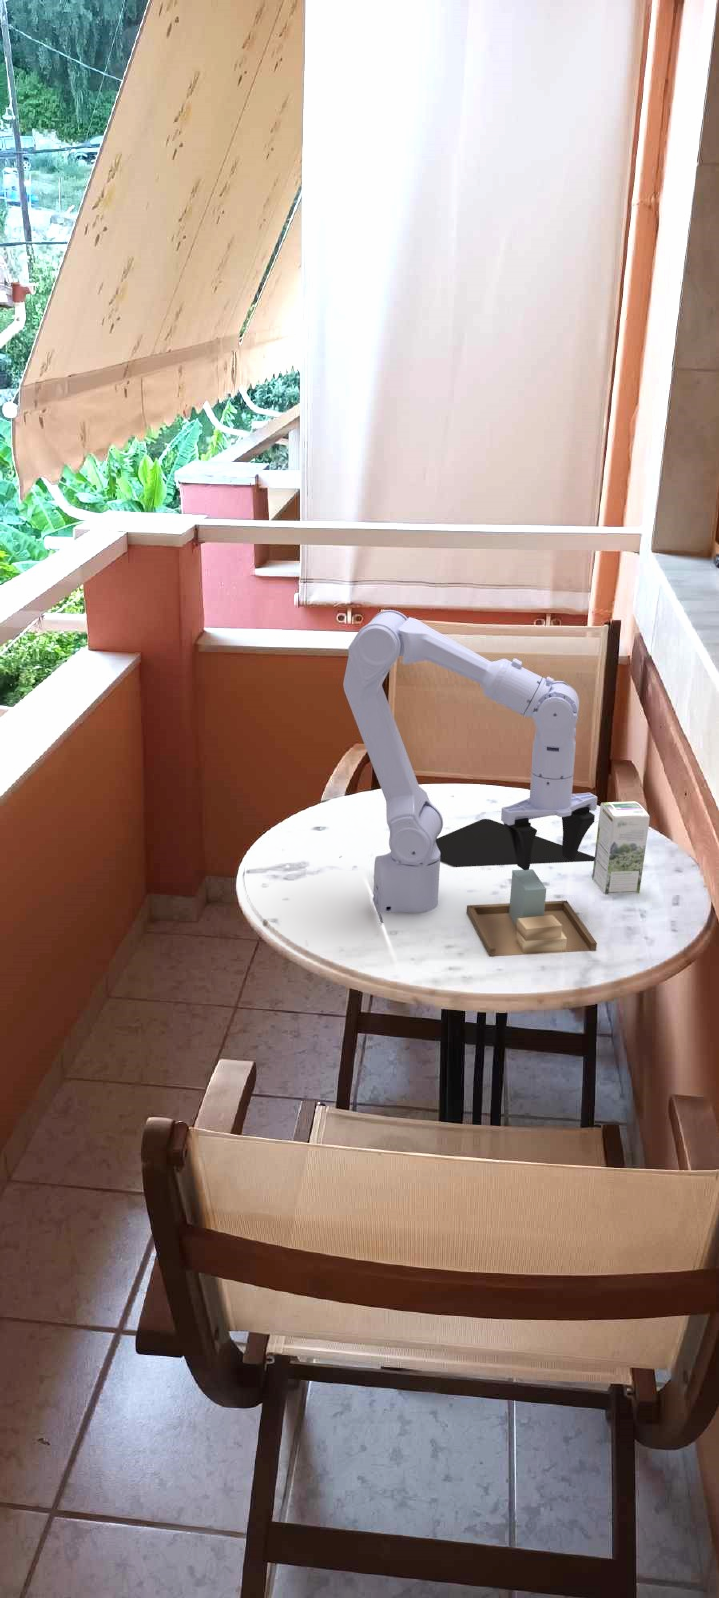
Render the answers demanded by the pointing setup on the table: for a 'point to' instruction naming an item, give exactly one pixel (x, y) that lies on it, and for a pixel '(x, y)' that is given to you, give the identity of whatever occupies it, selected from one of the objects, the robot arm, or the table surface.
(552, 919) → the offcut upper
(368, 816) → the table surface
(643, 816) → the syrup box
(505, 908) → the brown wooden tray
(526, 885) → the sage green tall block
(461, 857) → the tablet
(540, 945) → the offcut lower
